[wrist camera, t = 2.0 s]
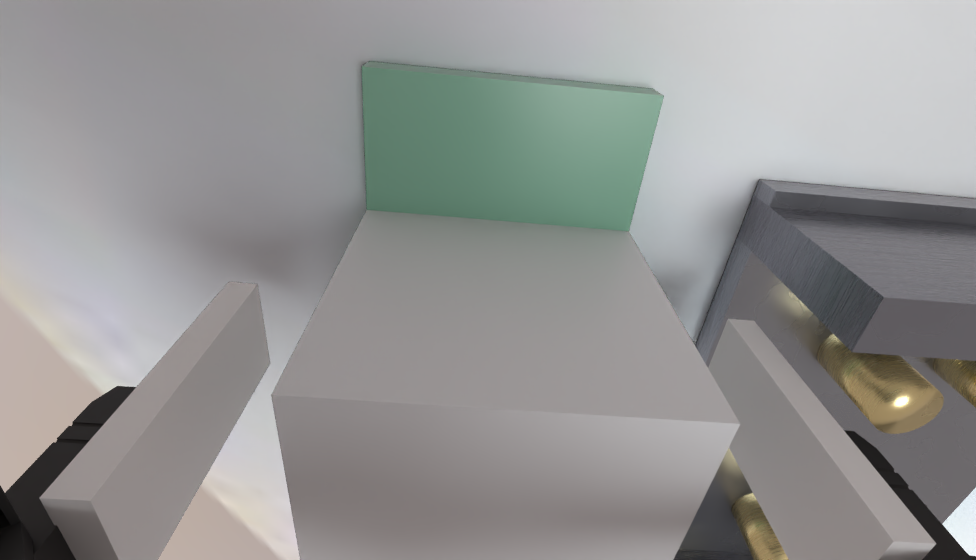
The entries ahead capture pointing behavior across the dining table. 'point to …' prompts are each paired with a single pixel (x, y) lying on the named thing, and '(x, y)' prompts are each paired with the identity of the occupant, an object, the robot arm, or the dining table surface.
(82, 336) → the dining table surface
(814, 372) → the chassis
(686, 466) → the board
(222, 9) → the dining table surface
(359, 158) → the dining table surface
